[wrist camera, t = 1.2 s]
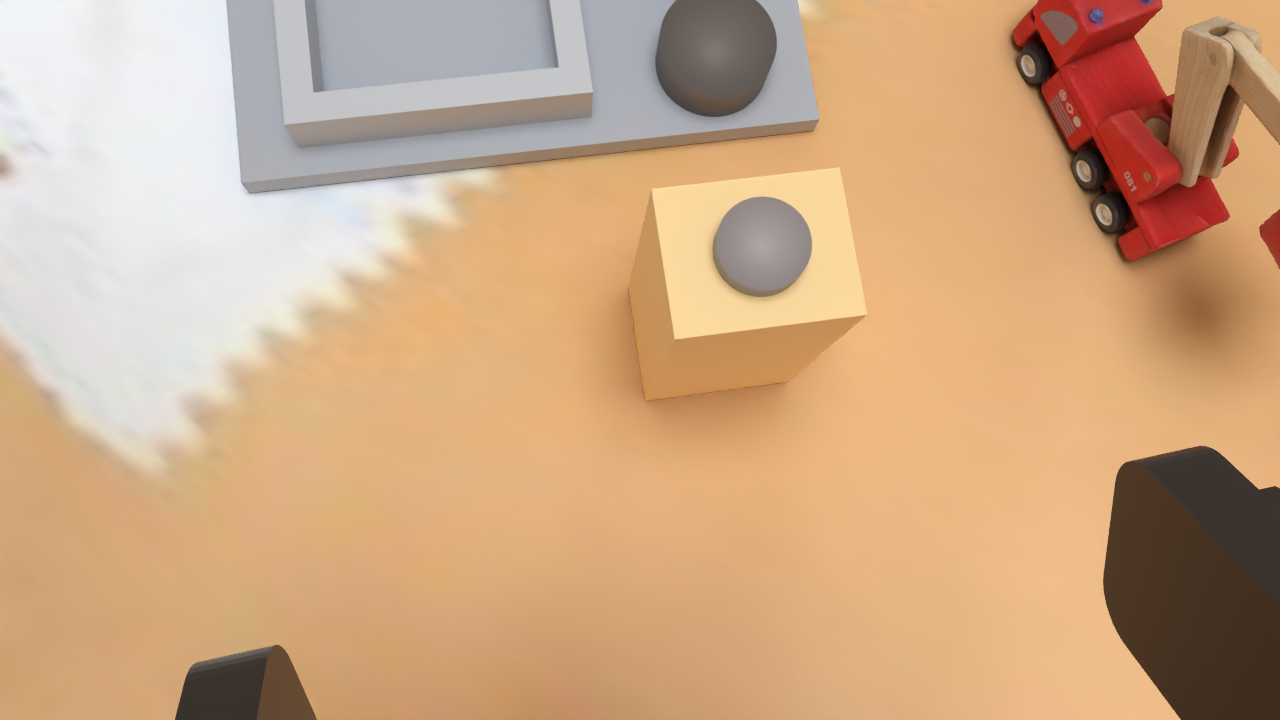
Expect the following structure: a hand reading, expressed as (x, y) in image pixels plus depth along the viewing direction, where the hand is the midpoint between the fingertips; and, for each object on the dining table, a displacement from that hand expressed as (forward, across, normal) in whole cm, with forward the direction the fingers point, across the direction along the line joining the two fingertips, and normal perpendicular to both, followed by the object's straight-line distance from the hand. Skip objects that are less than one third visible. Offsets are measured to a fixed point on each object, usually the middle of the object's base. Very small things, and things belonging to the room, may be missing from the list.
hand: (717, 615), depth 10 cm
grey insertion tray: (+33, 0, +2) cm, 33 cm away
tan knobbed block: (+24, -4, +12) cm, 27 cm away
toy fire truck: (+27, -20, +10) cm, 35 cm away
